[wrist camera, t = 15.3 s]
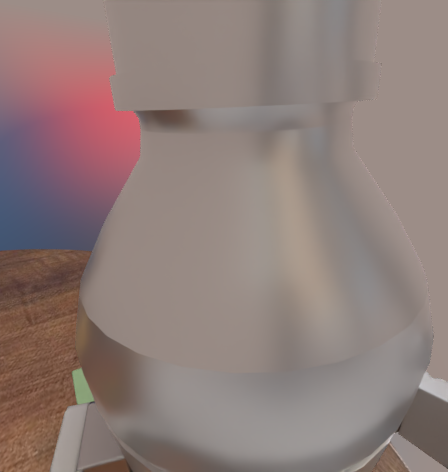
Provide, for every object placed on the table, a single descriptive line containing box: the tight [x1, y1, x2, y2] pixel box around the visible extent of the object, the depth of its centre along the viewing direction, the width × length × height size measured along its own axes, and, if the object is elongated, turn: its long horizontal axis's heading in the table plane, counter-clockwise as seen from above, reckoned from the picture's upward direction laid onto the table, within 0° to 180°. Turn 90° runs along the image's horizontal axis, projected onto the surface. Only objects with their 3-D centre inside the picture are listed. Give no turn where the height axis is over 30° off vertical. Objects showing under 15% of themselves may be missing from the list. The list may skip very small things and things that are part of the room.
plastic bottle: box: [75, 0, 434, 472], centre depth 8 cm, size 6×7×20 cm
